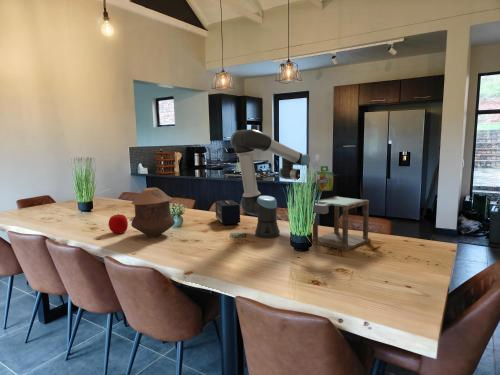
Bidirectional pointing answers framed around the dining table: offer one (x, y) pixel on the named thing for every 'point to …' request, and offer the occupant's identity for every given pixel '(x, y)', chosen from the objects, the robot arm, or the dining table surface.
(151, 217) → the pottery vessel
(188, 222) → the dining table surface
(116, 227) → the tomato
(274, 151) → the robot arm
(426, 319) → the dining table surface
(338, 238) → the stand
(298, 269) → the dining table surface
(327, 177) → the chalk box
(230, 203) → the speaker
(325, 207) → the trapdoor
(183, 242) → the dining table surface
